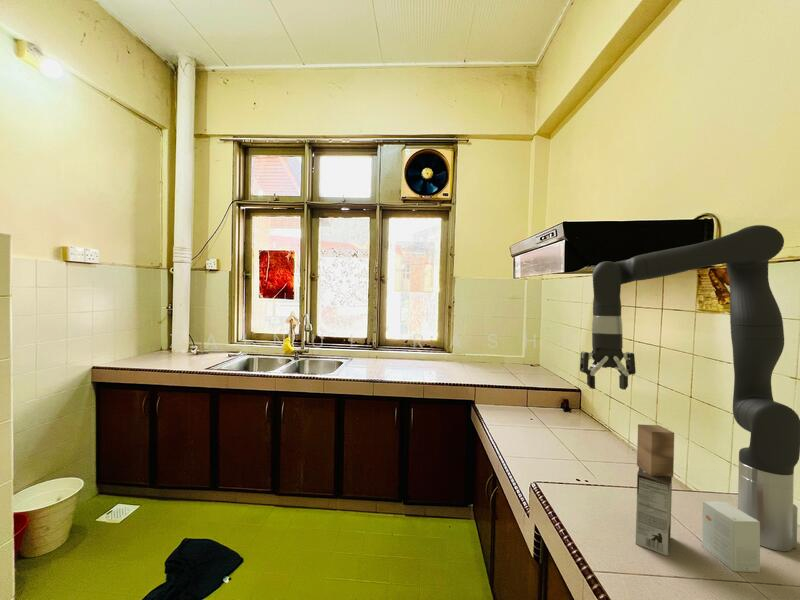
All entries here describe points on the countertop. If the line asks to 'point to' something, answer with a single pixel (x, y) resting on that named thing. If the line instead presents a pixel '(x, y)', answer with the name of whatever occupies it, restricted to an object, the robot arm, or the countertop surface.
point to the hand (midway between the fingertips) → (607, 388)
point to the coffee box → (653, 512)
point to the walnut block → (655, 450)
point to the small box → (731, 536)
